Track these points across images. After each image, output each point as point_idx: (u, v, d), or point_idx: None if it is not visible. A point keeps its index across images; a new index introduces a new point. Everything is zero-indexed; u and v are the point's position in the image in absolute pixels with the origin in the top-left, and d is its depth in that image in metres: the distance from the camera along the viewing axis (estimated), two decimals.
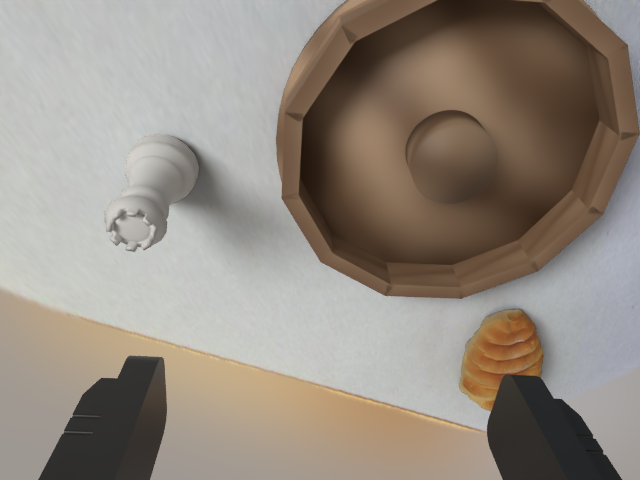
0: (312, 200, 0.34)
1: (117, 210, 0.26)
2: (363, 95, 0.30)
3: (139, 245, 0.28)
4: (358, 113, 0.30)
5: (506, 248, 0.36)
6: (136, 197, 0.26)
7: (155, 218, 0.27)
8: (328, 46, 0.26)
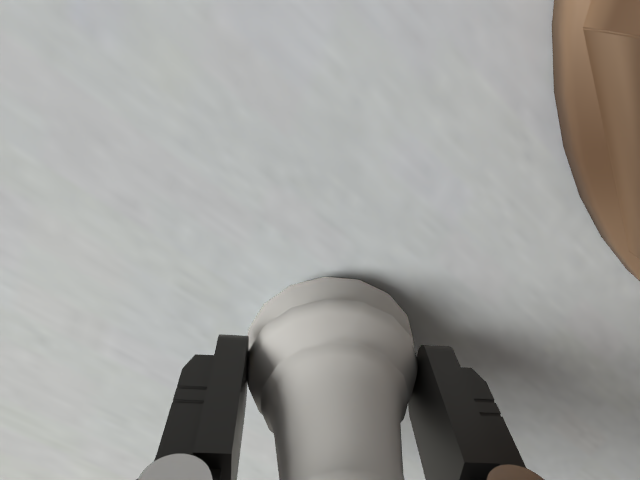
0: None
1: None
2: None
3: None
4: None
5: None
6: None
7: None
8: None
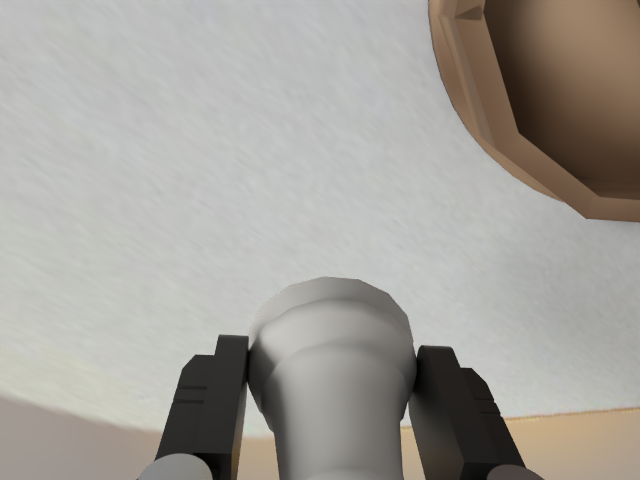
0: None
1: None
2: None
3: None
4: None
5: None
6: None
7: None
8: None
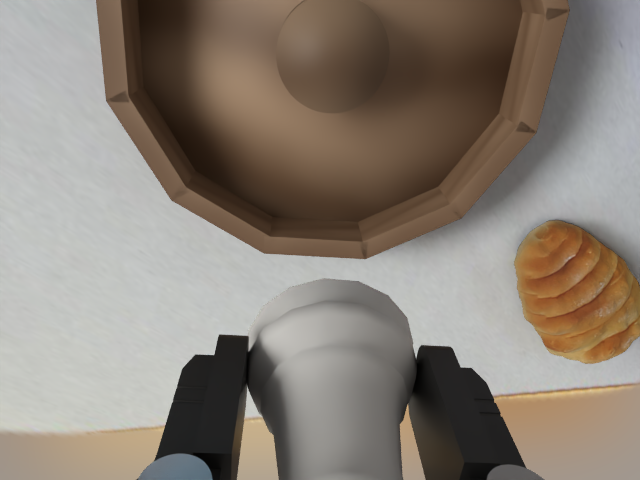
0: (226, 190, 0.28)
1: None
2: (199, 41, 0.24)
3: None
4: (207, 64, 0.25)
5: (488, 130, 0.26)
6: None
7: None
8: None
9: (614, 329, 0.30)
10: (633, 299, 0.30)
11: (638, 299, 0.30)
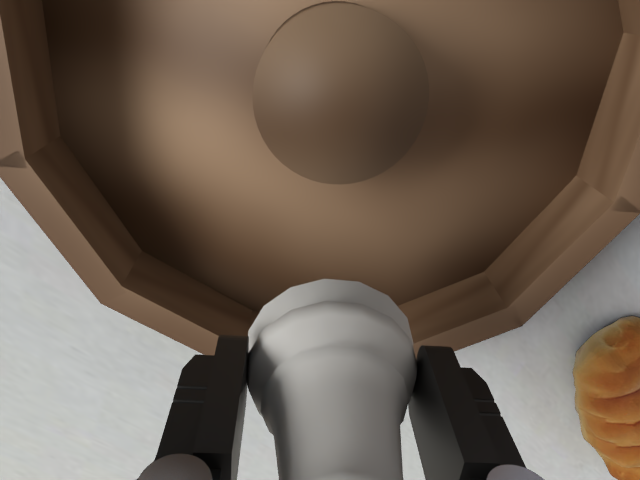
0: (186, 277, 0.20)
1: None
2: (140, 72, 0.16)
3: None
4: (154, 106, 0.17)
5: (561, 199, 0.18)
6: None
7: None
8: None
9: None
10: None
11: None
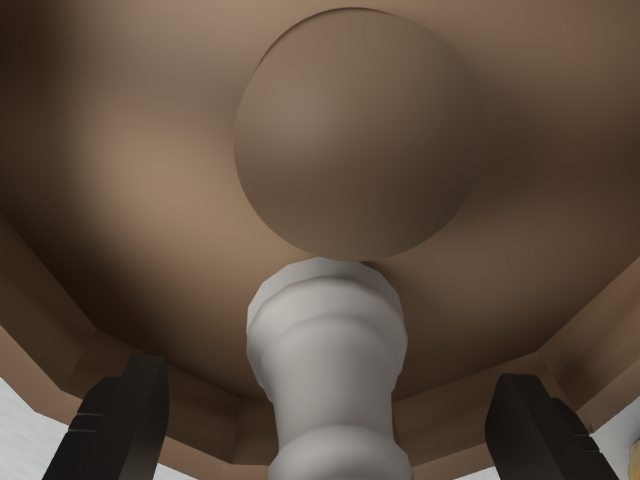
0: None
1: None
2: (83, 104, 0.12)
3: None
4: (104, 148, 0.12)
5: None
6: None
7: None
8: None
9: None
10: None
11: None
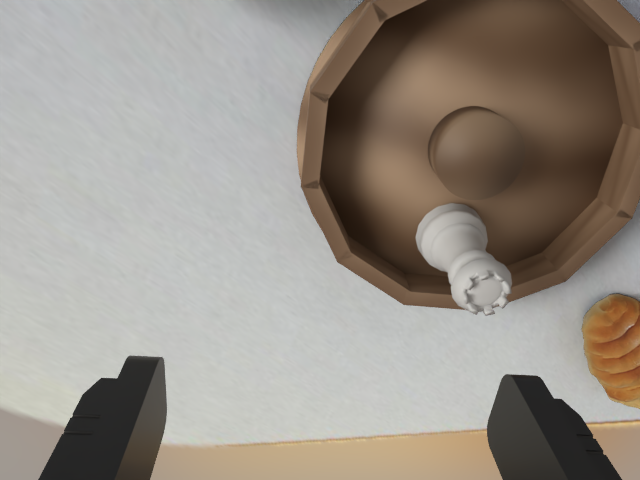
0: (371, 251, 0.34)
1: (468, 280, 0.26)
2: (367, 139, 0.31)
3: (493, 306, 0.27)
4: (371, 156, 0.32)
5: (588, 211, 0.33)
6: (477, 261, 0.27)
7: (503, 273, 0.27)
8: (308, 114, 0.28)
9: None
10: None
11: None
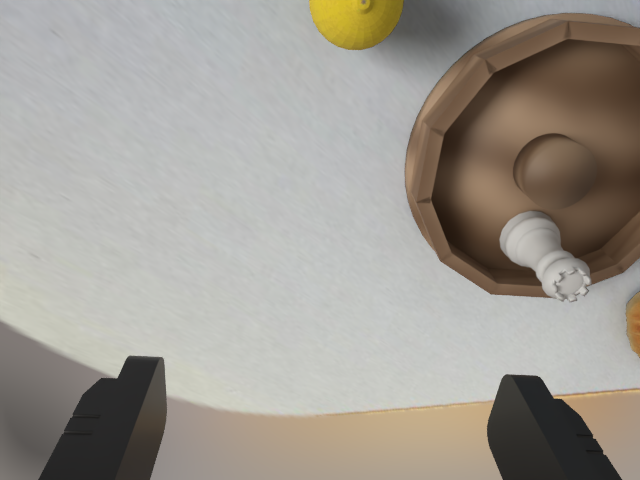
0: (461, 251, 0.41)
1: (557, 274, 0.34)
2: (465, 161, 0.38)
3: (575, 295, 0.35)
4: (467, 174, 0.39)
5: None
6: (564, 259, 0.34)
7: (584, 268, 0.34)
8: (427, 145, 0.35)
9: None
10: None
11: None
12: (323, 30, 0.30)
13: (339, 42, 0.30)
